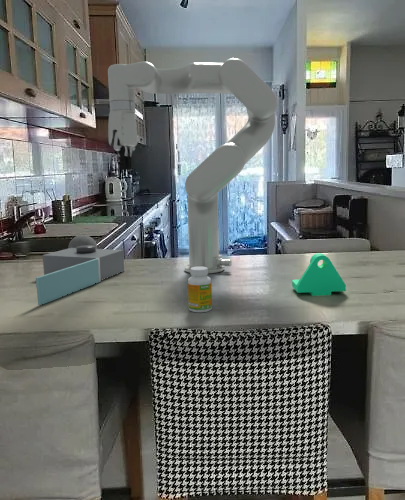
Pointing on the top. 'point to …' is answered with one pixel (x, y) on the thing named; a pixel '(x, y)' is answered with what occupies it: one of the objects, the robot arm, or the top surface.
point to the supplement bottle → (199, 290)
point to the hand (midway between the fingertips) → (125, 169)
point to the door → (67, 281)
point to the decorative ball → (81, 241)
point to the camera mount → (319, 278)
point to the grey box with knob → (85, 259)
